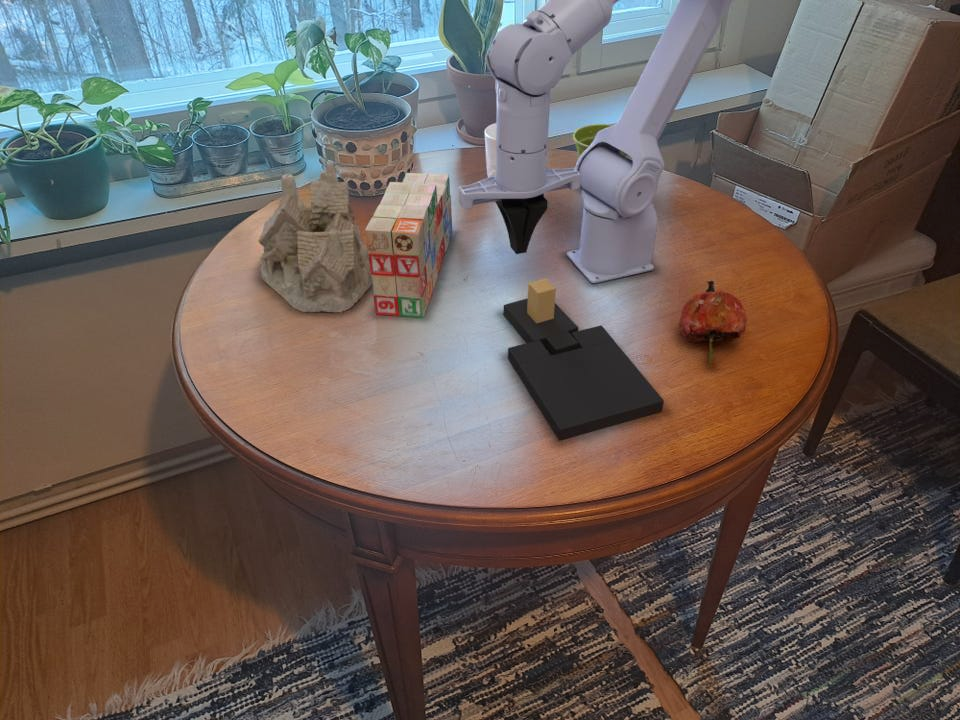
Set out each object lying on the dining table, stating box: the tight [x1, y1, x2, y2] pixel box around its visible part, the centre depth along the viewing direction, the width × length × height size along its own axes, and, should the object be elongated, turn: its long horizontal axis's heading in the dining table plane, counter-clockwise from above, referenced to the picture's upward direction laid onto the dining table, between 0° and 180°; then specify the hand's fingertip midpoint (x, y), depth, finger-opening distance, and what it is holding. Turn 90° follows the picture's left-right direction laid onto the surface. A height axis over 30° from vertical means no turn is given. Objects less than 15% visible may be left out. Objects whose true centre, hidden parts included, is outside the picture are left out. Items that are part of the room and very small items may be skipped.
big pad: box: [507, 324, 665, 441], centre depth 78 cm, size 14×12×2 cm
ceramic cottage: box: [257, 160, 373, 314], centre depth 90 cm, size 16×16×15 cm
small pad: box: [503, 277, 579, 356], centre depth 84 cm, size 10×6×6 cm, turn 25°
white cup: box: [484, 122, 496, 178], centre depth 111 cm, size 8×8×10 cm
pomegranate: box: [678, 280, 748, 366], centre depth 81 cm, size 7×7×10 cm
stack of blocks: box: [365, 172, 453, 319], centre depth 92 cm, size 21×6×12 cm, turn 172°
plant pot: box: [572, 123, 628, 160], centre depth 112 cm, size 9×9×9 cm
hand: (518, 249), depth 87 cm, fingers closed
